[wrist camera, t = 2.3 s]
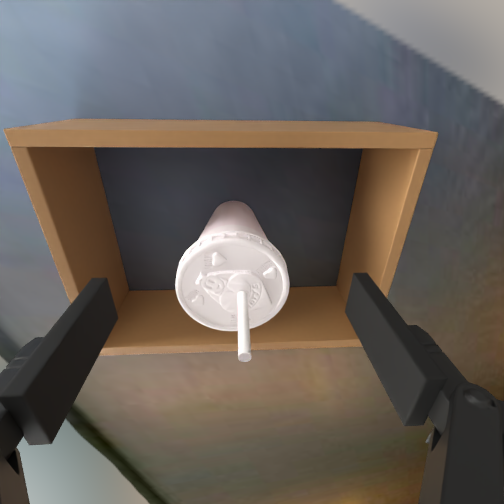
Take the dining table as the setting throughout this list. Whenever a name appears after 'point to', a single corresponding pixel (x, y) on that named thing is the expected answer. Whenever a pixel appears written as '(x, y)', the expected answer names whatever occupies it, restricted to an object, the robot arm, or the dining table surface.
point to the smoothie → (232, 275)
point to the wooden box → (218, 136)
